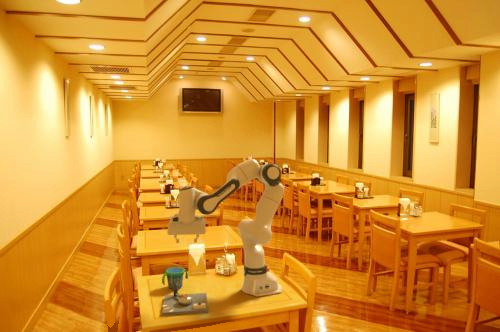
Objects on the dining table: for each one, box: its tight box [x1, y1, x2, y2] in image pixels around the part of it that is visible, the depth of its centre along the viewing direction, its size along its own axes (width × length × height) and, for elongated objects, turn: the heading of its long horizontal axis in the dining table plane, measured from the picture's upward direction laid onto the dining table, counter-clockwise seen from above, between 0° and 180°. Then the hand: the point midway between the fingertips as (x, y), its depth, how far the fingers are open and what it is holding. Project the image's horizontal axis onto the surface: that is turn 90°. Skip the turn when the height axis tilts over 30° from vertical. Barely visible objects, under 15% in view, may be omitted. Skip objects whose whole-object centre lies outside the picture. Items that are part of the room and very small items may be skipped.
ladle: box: [172, 283, 192, 306], centre depth 209 cm, size 15×7×6 cm, turn 38°
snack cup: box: [161, 266, 189, 290], centre depth 229 cm, size 16×10×10 cm
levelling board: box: [161, 292, 209, 317], centre depth 207 cm, size 23×20×4 cm
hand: (186, 242), depth 216 cm, fingers open, 8 cm apart
